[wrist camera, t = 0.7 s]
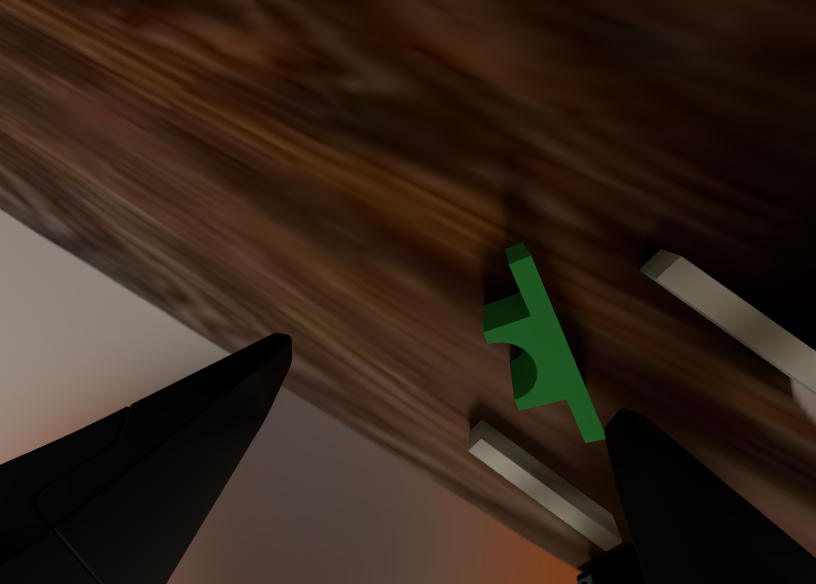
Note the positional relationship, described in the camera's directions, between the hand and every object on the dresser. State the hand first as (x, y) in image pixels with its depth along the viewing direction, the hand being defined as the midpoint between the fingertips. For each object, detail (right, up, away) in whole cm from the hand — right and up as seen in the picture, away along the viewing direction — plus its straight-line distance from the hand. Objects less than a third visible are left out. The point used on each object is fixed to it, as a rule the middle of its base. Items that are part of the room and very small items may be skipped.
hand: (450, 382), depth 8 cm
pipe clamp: (+7, 0, +13) cm, 14 cm away
